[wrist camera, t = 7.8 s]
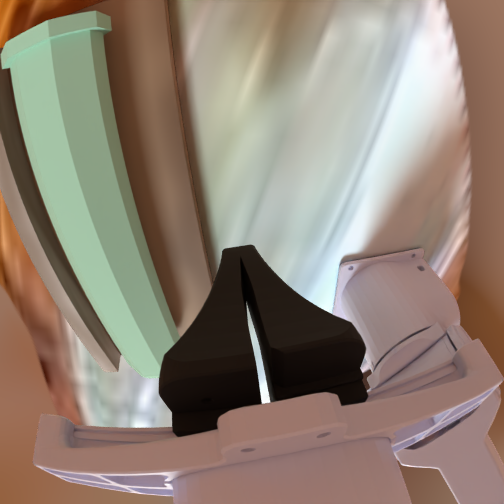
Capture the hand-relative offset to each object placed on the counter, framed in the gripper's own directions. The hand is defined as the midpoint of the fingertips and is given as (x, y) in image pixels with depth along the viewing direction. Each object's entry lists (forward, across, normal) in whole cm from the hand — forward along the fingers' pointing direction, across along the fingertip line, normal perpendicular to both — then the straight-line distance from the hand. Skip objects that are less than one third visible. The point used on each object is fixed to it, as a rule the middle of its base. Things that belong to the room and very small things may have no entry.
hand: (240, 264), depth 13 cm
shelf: (+8, +8, 0) cm, 12 cm away
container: (+7, +8, 0) cm, 10 cm away
